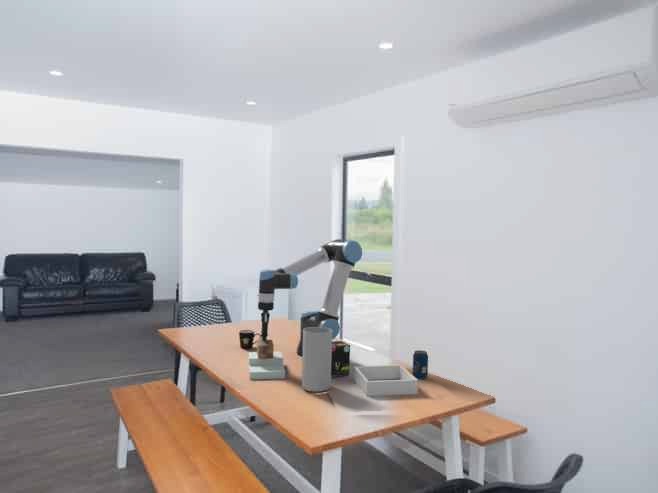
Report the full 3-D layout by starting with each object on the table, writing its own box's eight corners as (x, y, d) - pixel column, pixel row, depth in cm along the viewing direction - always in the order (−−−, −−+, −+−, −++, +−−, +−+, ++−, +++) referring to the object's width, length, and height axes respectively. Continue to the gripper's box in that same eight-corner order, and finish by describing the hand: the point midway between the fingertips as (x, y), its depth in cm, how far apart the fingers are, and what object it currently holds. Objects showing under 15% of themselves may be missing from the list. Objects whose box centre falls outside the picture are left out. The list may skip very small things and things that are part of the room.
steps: (280, 364, 242) (280, 351, 241) (285, 378, 219) (285, 364, 219) (248, 364, 239) (248, 352, 238) (249, 379, 216) (249, 365, 216)
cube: (271, 353, 234) (271, 339, 233) (273, 359, 227) (273, 345, 226) (256, 353, 232) (257, 340, 231) (258, 359, 226) (258, 345, 224)
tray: (399, 377, 224) (400, 365, 224) (417, 394, 203) (418, 380, 202) (353, 379, 220) (353, 366, 220) (366, 396, 198) (366, 381, 198)
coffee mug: (235, 349, 267) (235, 331, 267) (243, 346, 275) (244, 329, 275) (253, 352, 263) (254, 334, 263) (261, 348, 271) (262, 331, 271)
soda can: (409, 375, 228) (410, 350, 228) (422, 374, 231) (423, 349, 230) (417, 380, 222) (418, 354, 221) (430, 378, 224) (431, 353, 224)
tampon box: (329, 378, 221) (330, 346, 220) (320, 372, 229) (321, 342, 229) (349, 375, 226) (350, 344, 225) (340, 370, 234) (341, 340, 234)
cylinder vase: (320, 394, 199) (322, 334, 198) (295, 388, 206) (297, 330, 205) (336, 386, 210) (337, 329, 209) (312, 381, 216) (313, 325, 215)
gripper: (257, 299, 239) (255, 345, 240) (258, 303, 226) (256, 352, 227) (273, 299, 240) (270, 346, 241) (274, 303, 228) (271, 353, 229)
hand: (263, 349), depth 234 cm, fingers closed
